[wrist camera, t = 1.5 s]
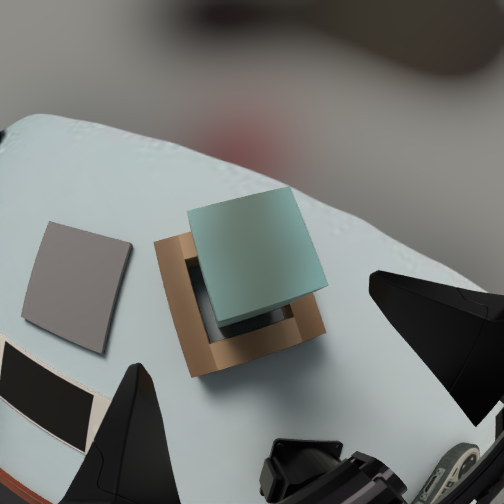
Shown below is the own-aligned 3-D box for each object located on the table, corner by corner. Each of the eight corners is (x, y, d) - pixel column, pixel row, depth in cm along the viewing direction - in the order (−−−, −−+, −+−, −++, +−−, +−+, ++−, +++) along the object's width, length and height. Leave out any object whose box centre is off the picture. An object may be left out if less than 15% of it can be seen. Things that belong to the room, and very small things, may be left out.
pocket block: (274, 222, 26) (281, 208, 23) (313, 333, 23) (326, 332, 20) (160, 253, 23) (153, 242, 21) (194, 372, 21) (191, 377, 18)
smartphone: (106, 460, 17) (103, 464, 17) (-6, 388, 17) (-11, 389, 16) (118, 399, 20) (114, 402, 19) (2, 332, 19) (-3, 331, 18)
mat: (132, 245, 23) (130, 242, 23) (104, 353, 20) (101, 353, 20) (51, 223, 23) (49, 221, 22) (24, 317, 20) (20, 316, 19)
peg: (253, 262, 24) (289, 186, 12) (270, 312, 23) (328, 285, 11) (202, 276, 23) (186, 211, 11) (218, 328, 22) (218, 321, 10)
